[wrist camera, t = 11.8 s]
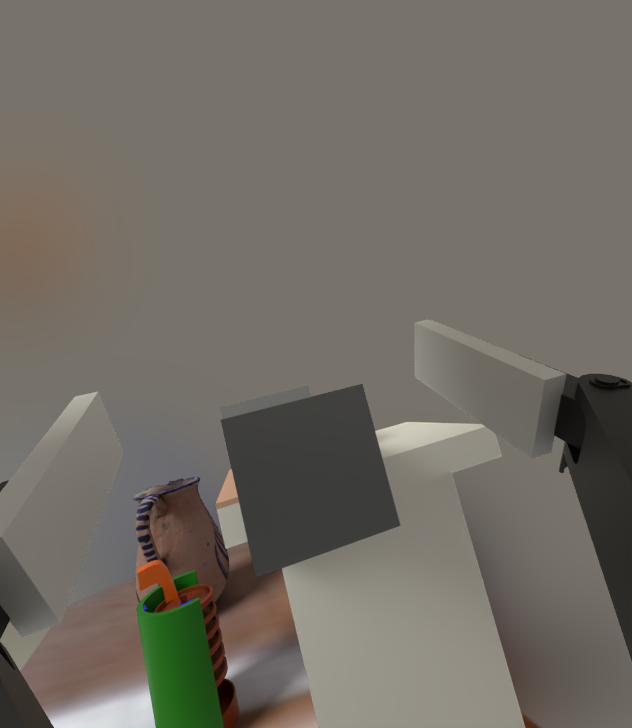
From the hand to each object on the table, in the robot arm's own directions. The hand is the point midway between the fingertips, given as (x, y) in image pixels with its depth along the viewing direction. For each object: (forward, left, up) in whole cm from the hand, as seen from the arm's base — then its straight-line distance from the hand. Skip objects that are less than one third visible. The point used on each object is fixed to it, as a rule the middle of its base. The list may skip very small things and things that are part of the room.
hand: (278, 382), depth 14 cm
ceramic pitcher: (-21, +62, -35) cm, 75 cm away
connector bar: (0, +6, -5) cm, 8 cm away
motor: (-15, +34, -36) cm, 51 cm away
